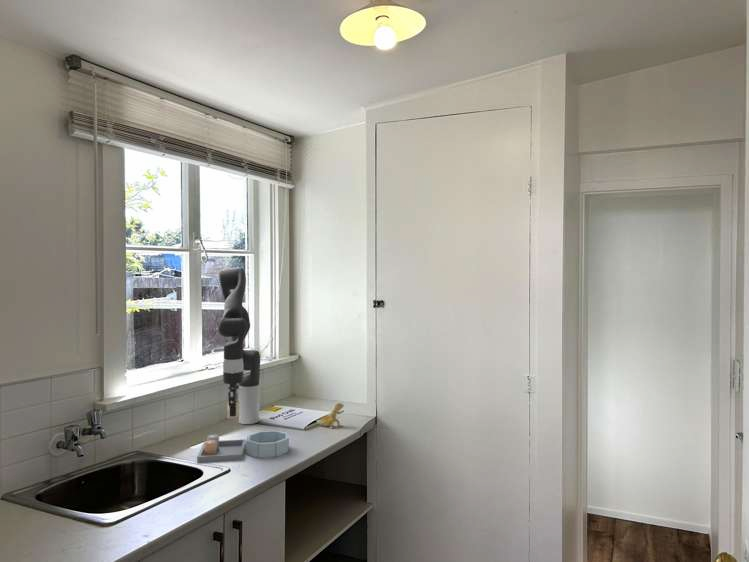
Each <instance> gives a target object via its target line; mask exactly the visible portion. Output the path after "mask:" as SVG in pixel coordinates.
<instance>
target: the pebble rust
mask: <svg viewBox="0 0 749 562" xmlns="http://www.w3.org/2000/svg"><path fill="white" fill-rule="evenodd" d="M204 442H205V441H204ZM204 442H203V444H204V451H205V456H208V455H217V441H215V440H209V441H207V440H206V442H205V443H204Z"/></svg>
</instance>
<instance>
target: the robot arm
mask: <svg viewBox="0 0 749 562" xmlns="http://www.w3.org/2000/svg"><path fill="white" fill-rule="evenodd" d="M218 283H219V286H220V287H219V288H220V290H221V294H222V297H223V301H224V304H223V305H224V307H223V315H222V317H221V318H220V321H219V324H218V333H219V335H220V336H222V337H224V338H226V337H227V338H231V340H232V341H230V342H227V343H225V344H224V345H223V365H222V371H223V372H222V376H223V377H222V379H223V380H222V382H223V384H226V385H229V386H228V387H227V398H228V402H229V407H230V416H236V405H237V404H236V401H237V402H239V418H238V424H242V425H252V424H256V423H257V424H258V421H259V422H260V375H261V372H260V371H261V354H260V352H259V351H258V350H255V349H254V350H251V349H249V350H248V349H247V350H245V349H244V342H245V339H246V337H247V335H248V333H249V332H250V329H251V321H250V315H249V313H248V310H247V309H246V308H245V306H243V301H244V295H245V291H246V286H247V276H246V272H245V269H244V267H241V266H240V267H239V266H237V267H229V268H222V269H220V270H219V271H218ZM231 290H233V291H231ZM244 371H250V372H249V374H248V375H247V376H244ZM232 401H234V403H231V402H232Z"/></svg>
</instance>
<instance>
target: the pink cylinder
mask: <svg viewBox="0 0 749 562" xmlns="http://www.w3.org/2000/svg"><path fill="white" fill-rule="evenodd" d="M206 438H207V439H206V441H209V440H215V441H217V451H219V441H220V435H219V434H209V435H207V437H206Z"/></svg>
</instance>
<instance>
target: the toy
mask: <svg viewBox="0 0 749 562" xmlns="http://www.w3.org/2000/svg"><path fill="white" fill-rule="evenodd" d="M344 405H345V404H343V403H342V402H338V403H336V404H335V406H334V408H333V410H332V411H331V412H330V415H329V416H327V417H325V416H324V417H322V418H320V419H317V420H316V423H317V424H318V425H319V426H321V427H329V429H330V430H332V429H334V427H333V426H334V423H337V426H338V427H342V425H341V424H340V420H339V419H337V414H338V415H339V414H340V415H341V414H342V413H344V412H345V411H344V410H342V409H343V408H344V407H345V406H344ZM340 410H341V411H340Z"/></svg>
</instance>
